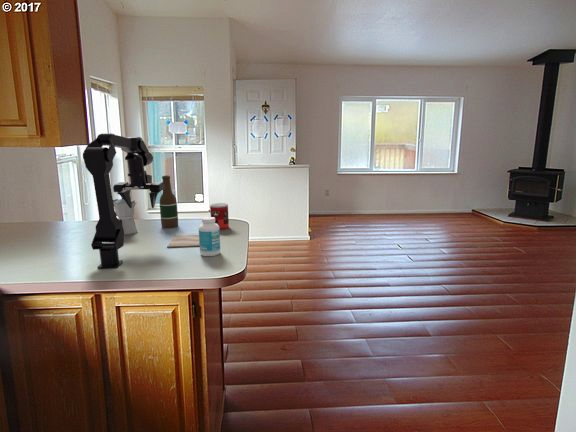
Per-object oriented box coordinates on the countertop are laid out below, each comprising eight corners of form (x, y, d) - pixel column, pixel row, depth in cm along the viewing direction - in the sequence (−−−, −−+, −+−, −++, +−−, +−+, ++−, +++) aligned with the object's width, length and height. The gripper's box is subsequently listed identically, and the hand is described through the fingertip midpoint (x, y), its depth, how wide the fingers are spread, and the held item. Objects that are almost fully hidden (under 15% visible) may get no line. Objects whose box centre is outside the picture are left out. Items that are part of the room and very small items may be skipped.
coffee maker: (145, 231, 182) (141, 191, 178) (133, 236, 174) (129, 195, 170) (117, 229, 186) (113, 191, 182) (104, 234, 178) (99, 194, 174)
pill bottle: (216, 257, 143) (214, 220, 140) (196, 256, 145) (194, 220, 142) (223, 251, 151) (221, 216, 148) (205, 250, 152) (202, 215, 149)
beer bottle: (161, 225, 193) (157, 175, 188) (178, 223, 195) (174, 174, 190) (161, 228, 186) (157, 177, 180) (178, 227, 188) (175, 176, 183)
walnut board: (201, 246, 157) (201, 245, 157) (167, 247, 156) (167, 246, 156) (205, 235, 173) (205, 234, 172) (174, 236, 171) (174, 235, 171)
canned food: (209, 227, 188) (208, 204, 185) (226, 225, 191) (225, 202, 188) (213, 230, 181) (212, 206, 178) (231, 228, 184) (229, 205, 182)
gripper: (167, 165, 163) (171, 202, 168) (123, 165, 164) (128, 202, 169) (156, 171, 152) (161, 210, 157) (109, 171, 154) (115, 210, 159)
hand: (142, 207), depth 161 cm, fingers open, 9 cm apart
